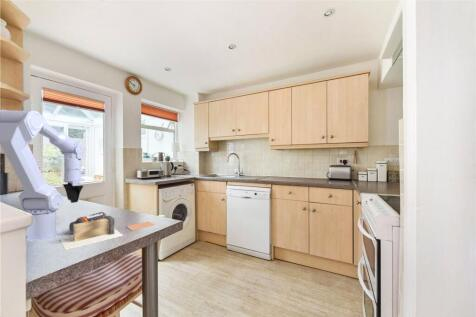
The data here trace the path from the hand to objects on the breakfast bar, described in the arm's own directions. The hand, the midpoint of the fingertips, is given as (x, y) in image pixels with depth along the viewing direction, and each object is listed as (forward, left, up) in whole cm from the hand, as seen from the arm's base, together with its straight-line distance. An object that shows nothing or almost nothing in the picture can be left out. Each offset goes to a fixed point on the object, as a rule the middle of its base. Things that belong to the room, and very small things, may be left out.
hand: (72, 201), depth 88 cm
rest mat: (+2, -26, -9) cm, 28 cm away
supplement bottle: (+8, -14, -6) cm, 18 cm away
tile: (+14, -26, -9) cm, 31 cm away
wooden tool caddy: (+2, -25, -9) cm, 27 cm away
